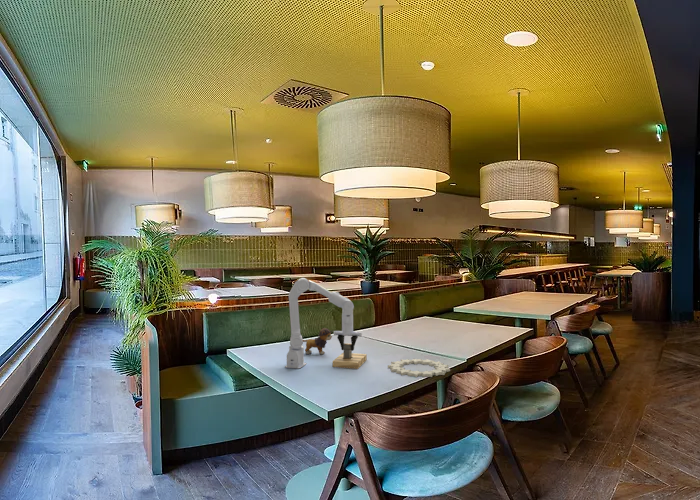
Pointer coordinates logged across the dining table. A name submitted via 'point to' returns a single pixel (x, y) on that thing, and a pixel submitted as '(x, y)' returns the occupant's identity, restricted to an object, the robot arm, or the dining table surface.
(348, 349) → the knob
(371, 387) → the dining table surface
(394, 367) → the decorative wreath
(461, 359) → the dining table surface
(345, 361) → the hub plate
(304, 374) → the dining table surface
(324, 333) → the figurine
